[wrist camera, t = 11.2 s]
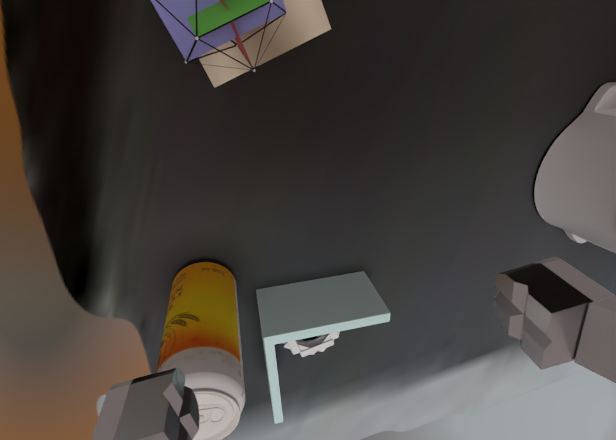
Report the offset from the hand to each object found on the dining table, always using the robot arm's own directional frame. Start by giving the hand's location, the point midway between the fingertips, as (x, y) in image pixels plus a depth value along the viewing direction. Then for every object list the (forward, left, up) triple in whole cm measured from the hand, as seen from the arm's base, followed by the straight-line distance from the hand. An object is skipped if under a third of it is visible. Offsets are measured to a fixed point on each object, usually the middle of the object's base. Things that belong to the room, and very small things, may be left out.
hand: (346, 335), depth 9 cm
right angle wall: (-1, +23, -26) cm, 35 cm away
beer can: (+9, +14, -25) cm, 30 cm away
